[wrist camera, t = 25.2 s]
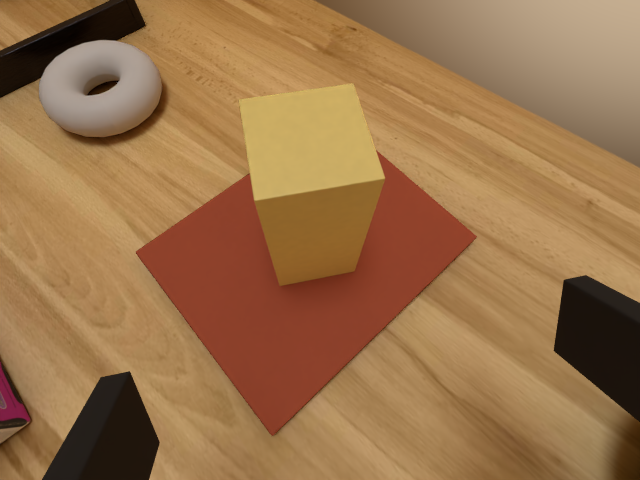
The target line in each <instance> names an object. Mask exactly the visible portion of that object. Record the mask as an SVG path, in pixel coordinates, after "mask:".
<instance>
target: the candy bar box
mask: <svg viewBox="0 0 640 480" xmlns="http://www.w3.org/2000/svg"><path fill="white" fill-rule="evenodd" d="M29 422H30V417H29V415H28V413H27V411H26V409H25V407H24V405H23V403H22V401H21V399H20V397H19V396H18V394H17V392H16V390H15V388H14V386H13V384H12V382H11V381H10V379H9V377H8V375H7V373H6V371H5V369H4V367H3V365H2V363H1V361H0V444H1V443H2V442H4V441H5V440H6V439H8V438H9V437H11V436H12V435H13V434H15V433H16V432H17V431H19V430H20V429H21V428H23V427H24V426H25V425H27V424H28V423H29Z"/></svg>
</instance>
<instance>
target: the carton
mask: <svg viewBox="0 0 640 480" xmlns="http://www.w3.org/2000/svg"><path fill="white" fill-rule="evenodd" d="M239 108H240V114H241V121H242V127H243V133H244V140H245V146H246V152H247V159H248V165H249V172H250V178H251V184H252V191H253V197H254V202H255V205H256V209H257V212H258V215H259V219H260V222H261V225H262V229H263V232H264V236H265V239H266V242H267V246H268V249H269V252H270V256H271V259H272V262H273V266H274V269H275V272H276V276H277V279H278V282H279V286H283V285H288V284H293V283H298V282H303V281H308V280H313V279H319V278H324V277H329V276H334V275H339V274H344V273H349V272H354V271H355V268H356V265H357V262H358V259H359V256H360V253H361V250H362V247H363V244H364V241H365V238H366V235H367V232H368V229H369V226H370V223H371V220H372V217H373V214H374V211H375V208H376V205H377V202H378V199H379V196H380V193H381V190H382V187H383V184H384V181H385V176H384V173H383V170H382V167H381V164H380V161H379V158H378V155H377V152H376V149H375V146H374V143H373V140H372V137H371V134H370V131H369V128H368V125H367V122H366V119H365V116H364V113H363V110H362V107H361V104H360V101H359V98H358V95H357V92H356V89H355V86H354V84H353V83H352V84H345V85H338V86H331V87H324V88H317V89H310V90H302V91H295V92H288V93H281V94H274V95H267V96H260V97H253V98H246V99H239Z"/></svg>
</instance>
